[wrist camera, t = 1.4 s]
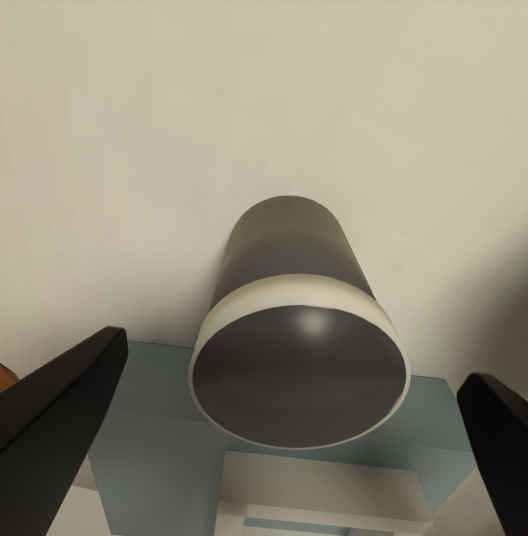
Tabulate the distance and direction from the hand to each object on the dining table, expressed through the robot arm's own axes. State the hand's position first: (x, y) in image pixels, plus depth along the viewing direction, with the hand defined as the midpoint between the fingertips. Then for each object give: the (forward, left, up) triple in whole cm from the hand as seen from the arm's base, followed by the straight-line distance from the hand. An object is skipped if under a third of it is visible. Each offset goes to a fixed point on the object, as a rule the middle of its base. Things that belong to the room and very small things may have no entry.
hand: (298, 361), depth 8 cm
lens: (0, 0, -6) cm, 6 cm away
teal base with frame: (-1, +13, -6) cm, 15 cm away
